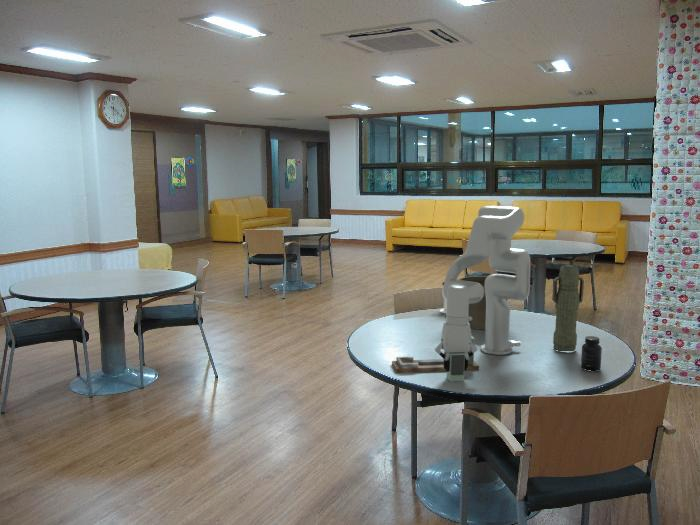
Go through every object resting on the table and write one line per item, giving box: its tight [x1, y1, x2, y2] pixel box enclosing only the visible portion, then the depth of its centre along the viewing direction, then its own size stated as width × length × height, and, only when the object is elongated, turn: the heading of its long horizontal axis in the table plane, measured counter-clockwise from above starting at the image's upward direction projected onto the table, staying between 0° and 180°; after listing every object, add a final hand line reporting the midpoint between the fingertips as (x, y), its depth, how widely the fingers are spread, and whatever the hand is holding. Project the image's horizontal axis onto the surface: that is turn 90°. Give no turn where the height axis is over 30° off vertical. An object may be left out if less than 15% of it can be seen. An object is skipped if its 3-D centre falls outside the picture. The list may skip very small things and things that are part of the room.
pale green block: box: [446, 352, 465, 382], centre depth 208 cm, size 5×5×10 cm
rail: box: [391, 335, 480, 374], centre depth 220 cm, size 31×9×12 cm, turn 96°
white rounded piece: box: [439, 281, 447, 315], centre depth 305 cm, size 12×11×15 cm
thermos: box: [551, 264, 585, 351], centre depth 239 cm, size 9×12×35 cm
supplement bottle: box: [580, 335, 603, 372], centre depth 219 cm, size 7×7×12 cm
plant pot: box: [458, 275, 508, 331], centre depth 276 cm, size 25×25×22 cm
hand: (455, 369), depth 208 cm, fingers open, 5 cm apart
